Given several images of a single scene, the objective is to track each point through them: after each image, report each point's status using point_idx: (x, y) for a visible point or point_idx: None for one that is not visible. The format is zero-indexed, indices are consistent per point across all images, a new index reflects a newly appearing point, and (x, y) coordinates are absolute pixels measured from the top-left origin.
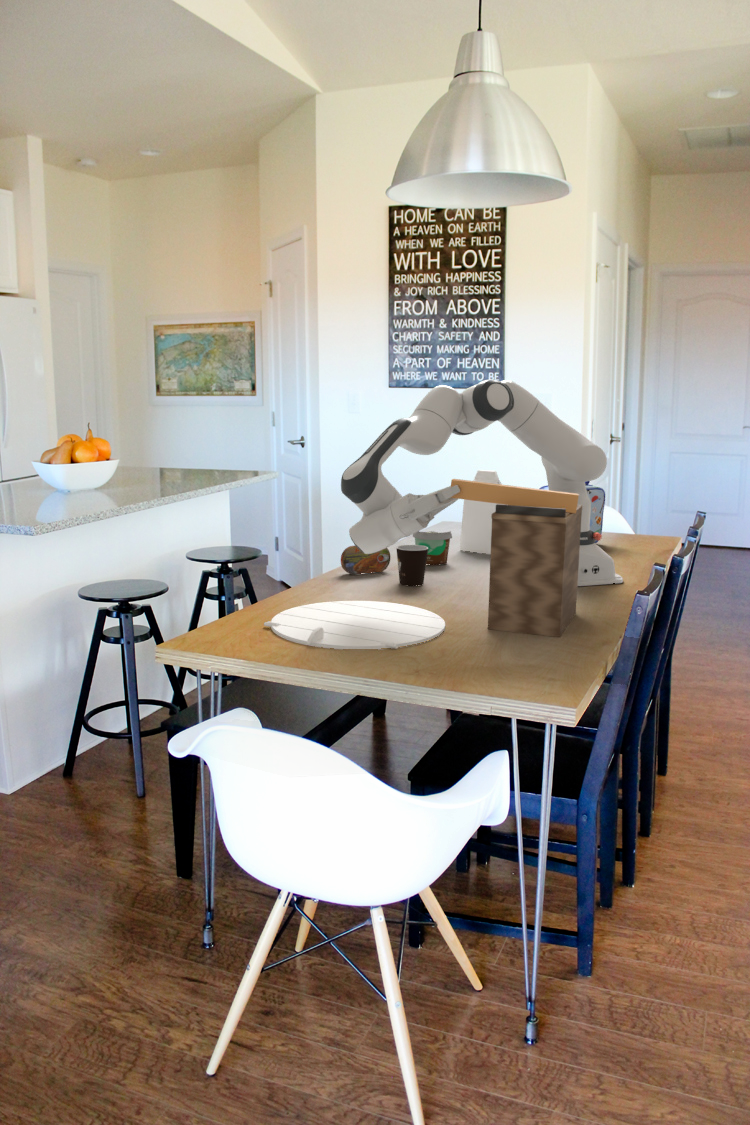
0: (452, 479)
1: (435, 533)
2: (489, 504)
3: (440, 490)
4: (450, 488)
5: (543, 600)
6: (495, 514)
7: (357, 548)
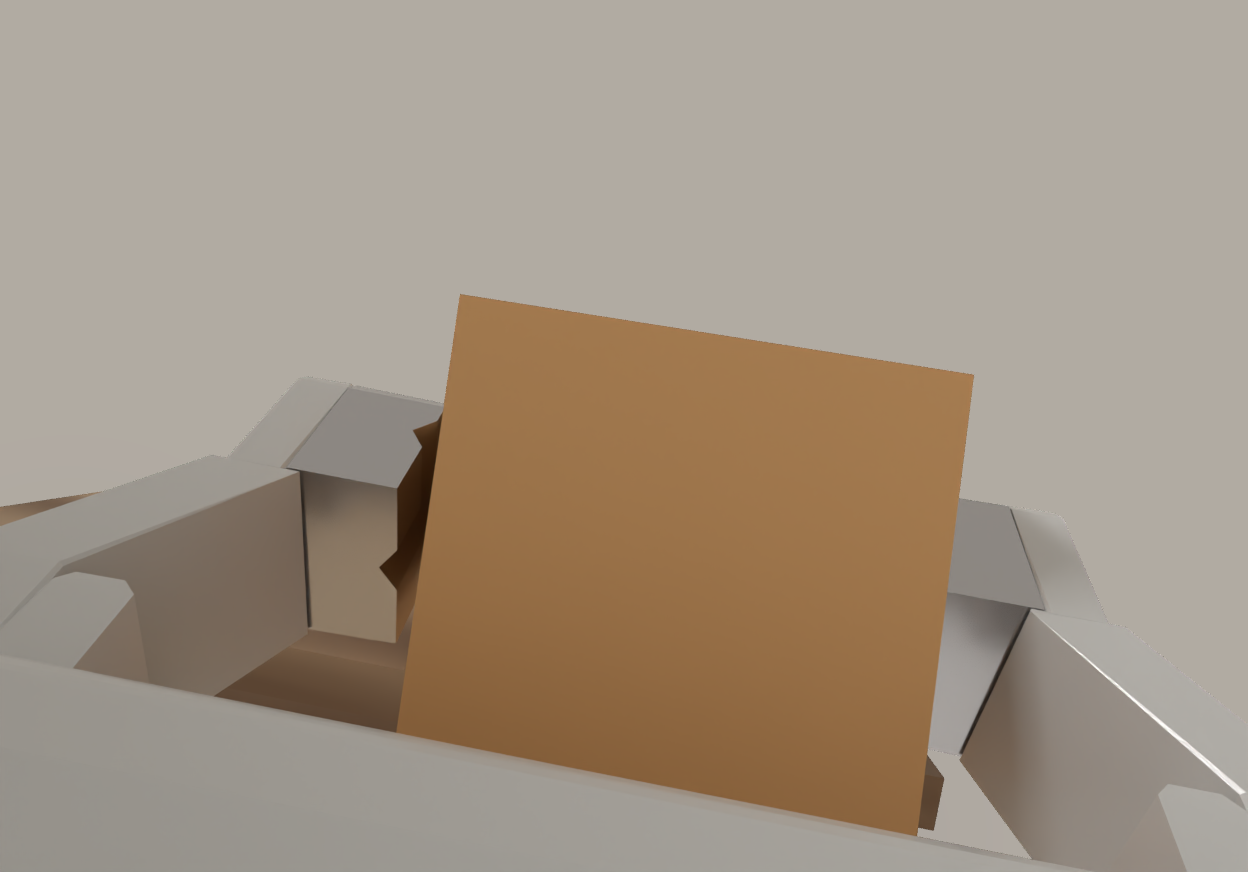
0: (824, 352)
1: None
2: None
3: (893, 832)
4: (1100, 626)
5: None
6: (931, 765)
7: None
